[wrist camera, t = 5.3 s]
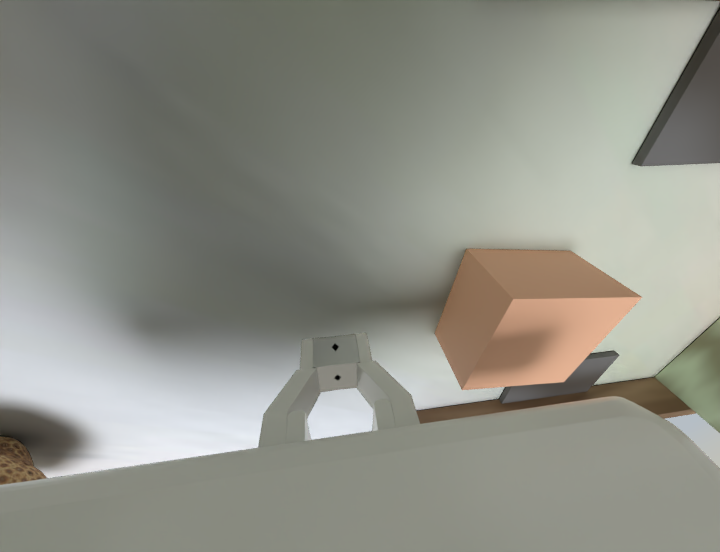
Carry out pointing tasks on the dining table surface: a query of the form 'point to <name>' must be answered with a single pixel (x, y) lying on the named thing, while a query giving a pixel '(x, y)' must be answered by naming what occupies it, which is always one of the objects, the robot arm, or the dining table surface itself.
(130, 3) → the dining table surface
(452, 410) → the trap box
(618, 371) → the dining table surface
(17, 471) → the natural sponge
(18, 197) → the dining table surface
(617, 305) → the terracotta block
